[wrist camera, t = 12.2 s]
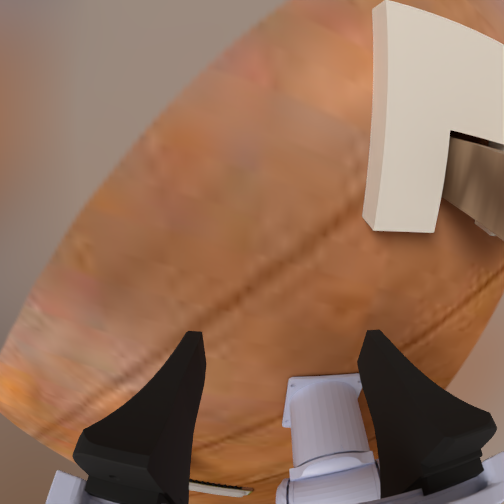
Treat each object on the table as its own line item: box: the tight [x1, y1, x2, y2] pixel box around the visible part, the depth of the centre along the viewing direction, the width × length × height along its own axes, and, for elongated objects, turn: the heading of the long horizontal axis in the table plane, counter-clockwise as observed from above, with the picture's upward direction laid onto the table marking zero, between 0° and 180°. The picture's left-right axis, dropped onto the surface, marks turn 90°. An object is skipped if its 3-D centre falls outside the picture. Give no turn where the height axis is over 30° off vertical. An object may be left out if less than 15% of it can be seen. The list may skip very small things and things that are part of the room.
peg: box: [441, 136, 504, 241], centre depth 15 cm, size 4×4×9 cm
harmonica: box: [189, 479, 253, 497], centre depth 44 cm, size 15×3×2 cm, turn 74°
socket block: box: [362, 0, 504, 236], centre depth 16 cm, size 15×16×2 cm
